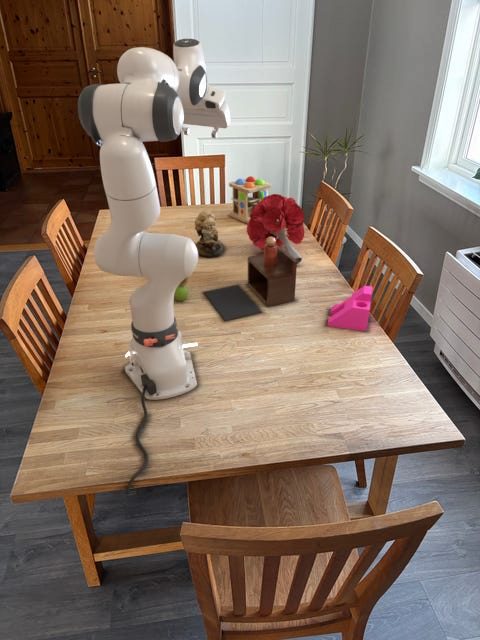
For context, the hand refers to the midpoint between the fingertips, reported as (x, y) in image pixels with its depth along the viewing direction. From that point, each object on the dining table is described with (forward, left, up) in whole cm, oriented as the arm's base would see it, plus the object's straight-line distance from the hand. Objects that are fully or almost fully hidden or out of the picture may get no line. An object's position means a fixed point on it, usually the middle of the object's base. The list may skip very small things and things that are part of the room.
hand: (200, 135), depth 159 cm
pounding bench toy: (+43, -41, -50) cm, 78 cm away
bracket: (-49, -31, -50) cm, 76 cm away
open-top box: (-23, -16, -50) cm, 57 cm away
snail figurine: (-15, +15, -47) cm, 51 cm away
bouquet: (+5, -32, -50) cm, 60 cm away
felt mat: (-24, -1, -50) cm, 55 cm away
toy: (-23, -15, -39) cm, 47 cm away
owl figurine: (+19, -9, -50) cm, 54 cm away
